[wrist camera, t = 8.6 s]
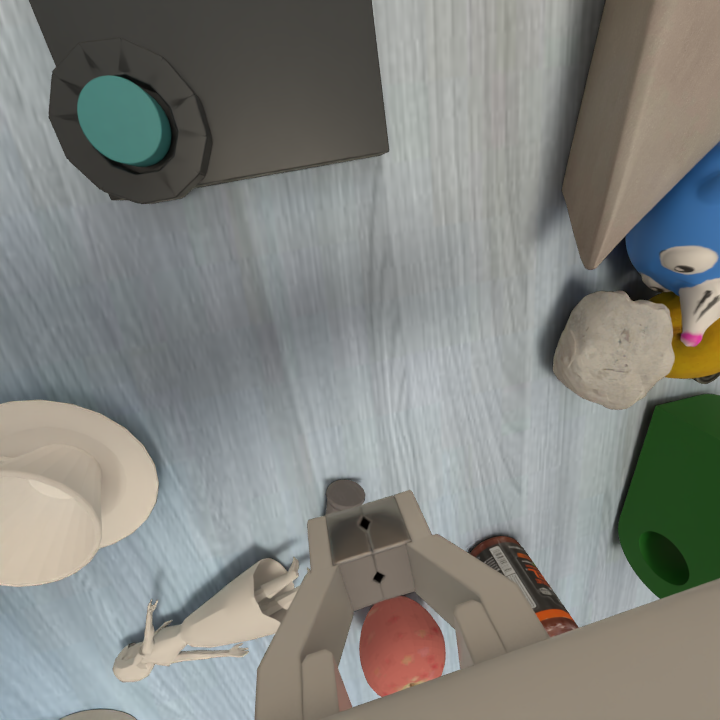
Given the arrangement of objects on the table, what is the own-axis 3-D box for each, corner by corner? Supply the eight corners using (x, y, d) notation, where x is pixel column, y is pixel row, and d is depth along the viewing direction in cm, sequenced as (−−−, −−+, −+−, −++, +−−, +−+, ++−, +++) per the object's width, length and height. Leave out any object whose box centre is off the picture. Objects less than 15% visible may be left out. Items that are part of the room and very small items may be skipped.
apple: (388, 567, 35) (416, 663, 27) (439, 592, 38) (477, 685, 30) (336, 616, 36) (350, 721, 29) (390, 637, 39) (415, 736, 32)
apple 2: (619, 347, 32) (593, 340, 26) (680, 281, 29) (665, 258, 24) (698, 397, 28) (687, 401, 23) (775, 328, 26) (785, 313, 20)
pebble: (577, 289, 29) (520, 305, 29) (682, 273, 21) (608, 294, 21) (596, 393, 30) (542, 411, 30) (704, 415, 22) (633, 440, 22)
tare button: (112, 172, 17) (97, 169, 15) (81, 91, 15) (60, 81, 14) (181, 160, 17) (173, 157, 16) (155, 80, 16) (144, 69, 14)
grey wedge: (606, 292, 28) (795, -24, 22) (686, 315, 22) (967, -99, 16) (434, 212, 23) (616, -217, 17) (482, 215, 18) (773, -412, 12)
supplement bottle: (530, 548, 38) (623, 677, 27) (485, 584, 39) (559, 723, 28) (497, 522, 35) (586, 654, 25) (451, 562, 36) (518, 705, 26)
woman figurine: (262, 515, 28) (70, 614, 30) (259, 574, 24) (41, 683, 26) (337, 578, 34) (175, 657, 36) (345, 633, 30) (163, 718, 32)
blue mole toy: (719, 374, 26) (582, 350, 29) (748, 211, 27) (612, 204, 30) (901, 340, 15) (647, 306, 17) (942, 61, 15) (693, 71, 18)
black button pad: (120, 211, 20) (90, 213, 17) (-16, -124, 15) (-98, -214, 12) (381, 164, 21) (399, 158, 18) (341, -154, 16) (356, -240, 13)
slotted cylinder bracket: (609, 549, 40) (658, 533, 41) (698, 638, 32) (755, 615, 33) (655, 406, 32) (713, 391, 33) (788, 476, 24) (857, 454, 26)
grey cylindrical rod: (334, 474, 30) (320, 499, 27) (370, 485, 29) (358, 512, 27) (321, 571, 34) (307, 601, 32) (352, 584, 34) (340, 615, 31)
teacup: (-28, 360, 21) (-118, 407, 16) (188, 425, 25) (167, 477, 21) (-62, 516, 24) (-145, 593, 20) (135, 551, 29) (106, 622, 24)
